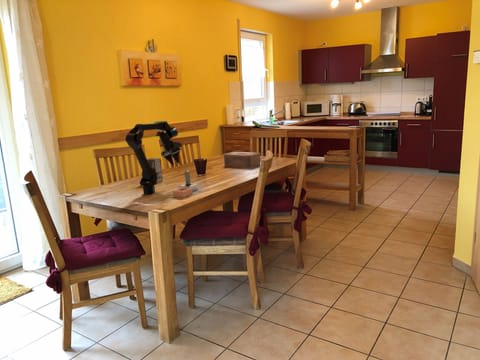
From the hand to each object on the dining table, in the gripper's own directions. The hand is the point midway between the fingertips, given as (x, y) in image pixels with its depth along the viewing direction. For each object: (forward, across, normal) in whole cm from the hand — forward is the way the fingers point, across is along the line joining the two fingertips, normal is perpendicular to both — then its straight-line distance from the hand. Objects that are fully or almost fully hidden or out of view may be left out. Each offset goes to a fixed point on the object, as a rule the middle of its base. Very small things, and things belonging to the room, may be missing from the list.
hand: (175, 164), depth 243 cm
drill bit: (+17, -11, +4) cm, 21 cm away
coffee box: (+8, +32, +6) cm, 33 cm away
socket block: (+17, -11, +4) cm, 21 cm away
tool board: (+18, -16, +9) cm, 25 cm away
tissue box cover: (+27, +37, -69) cm, 82 cm away
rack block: (+16, -20, +12) cm, 28 cm away
